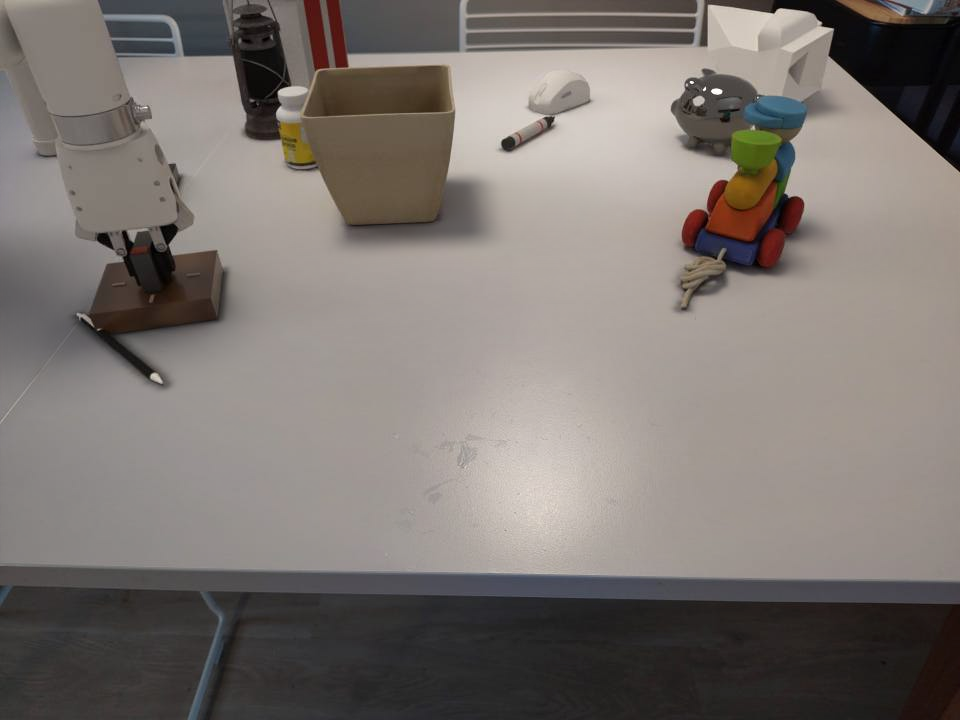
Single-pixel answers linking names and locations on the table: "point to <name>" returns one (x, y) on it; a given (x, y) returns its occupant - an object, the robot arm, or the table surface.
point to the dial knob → (146, 263)
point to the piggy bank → (714, 108)
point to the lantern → (258, 68)
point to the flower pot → (382, 139)
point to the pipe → (33, 108)
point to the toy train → (749, 196)
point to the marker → (527, 132)
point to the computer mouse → (559, 92)
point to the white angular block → (770, 49)
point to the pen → (121, 349)
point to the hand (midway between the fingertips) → (155, 277)
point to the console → (159, 296)
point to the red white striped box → (304, 35)
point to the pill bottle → (294, 128)
